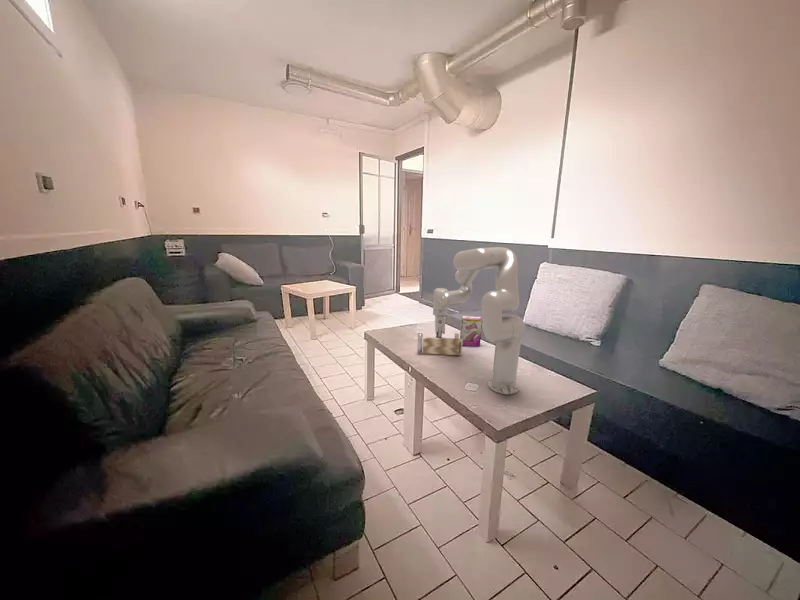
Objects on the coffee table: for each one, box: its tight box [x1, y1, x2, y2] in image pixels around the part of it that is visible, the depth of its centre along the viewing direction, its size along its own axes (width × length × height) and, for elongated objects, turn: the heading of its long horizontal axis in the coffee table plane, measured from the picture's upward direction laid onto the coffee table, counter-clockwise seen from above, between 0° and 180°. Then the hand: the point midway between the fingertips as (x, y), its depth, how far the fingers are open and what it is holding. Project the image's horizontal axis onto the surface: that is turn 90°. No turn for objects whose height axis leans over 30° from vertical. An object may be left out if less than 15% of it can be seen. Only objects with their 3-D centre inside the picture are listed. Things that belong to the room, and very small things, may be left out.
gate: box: [422, 336, 463, 356], centre depth 163 cm, size 20×2×8 cm, turn 86°
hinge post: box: [416, 332, 424, 356], centre depth 164 cm, size 2×2×11 cm
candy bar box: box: [459, 315, 483, 347], centre depth 176 cm, size 11×5×16 cm, turn 84°
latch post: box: [454, 332, 460, 339], centre depth 165 cm, size 2×2×11 cm
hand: (438, 344), depth 170 cm, fingers closed
